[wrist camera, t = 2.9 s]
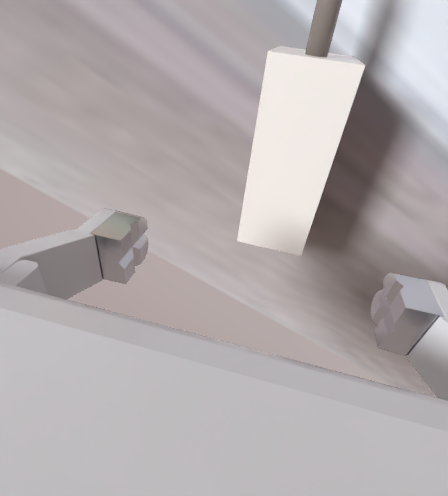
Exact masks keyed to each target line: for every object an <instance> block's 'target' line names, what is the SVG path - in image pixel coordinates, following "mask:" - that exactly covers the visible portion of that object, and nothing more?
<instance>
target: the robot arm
mask: <svg viewBox="0 0 448 496" xmlns="http://www.w3.org/2000/svg"><path fill="white" fill-rule="evenodd" d="M146 230H147V220H146V219H145V218H144V217H140V216H136V215H132V214H128V213H124V212H120V211H116V210H111V209H106V208H104V209H101V210H100V211H98V212H97V213H96V214H95V215H94V216H92V217H91V218H90V219H89V220H88V221H86V222H85V223H84V224H83V225H82V226H80V227H79V228H78V229H77V230H68V231H64V232H60V233H57V234H53V235H49V236H46V237H42V238H38V239H35V240H31V241H28V242H24V243H20V244H16V245H13V246H9V247H5V248H2V249H0V496H448V290H447V288H446V286H445V285H444V284H442V283H441V282H436V281H430V280H425V279H419V278H414V277H409V276H404V275H399V274H395V273H388V274H387V275H386V276H385V278H384V280H383V281H382V283H383V286H384V288H383V289H381V290H379V291H377V292H376V294H375V296H374V297H373V299H372V304H371V318H372V320H373V321H374V323H375V324H376V325H377V327H376V329H375V330H374V332H375V336H376V341H377V345H378V348H380V349H384V350H388V351H391V352H395V353H398V354H402V355H405V356H407V358H408V360H409V361H410V362H411V363H412V365H413V366H414V367H415V369H416V370H417V371H418V372H419V374H420V375H421V376H422V378H423V379H424V380H425V381H426V383H427V384H428V385H429V387H430V388H431V389H432V390H433V392H434V393H435V394H436V396H437V397H438V398H435V397H432V396H428V395H424V394H420V393H416V392H413V391H409V390H405V389H401V388H397V387H393V386H390V385H386V384H382V383H378V382H374V381H371V380H367V379H363V378H360V377H356V376H352V375H349V374H345V373H341V372H337V371H333V370H330V369H326V368H322V367H318V366H315V365H311V364H308V363H304V362H300V361H296V360H292V359H289V358H285V357H281V356H278V355H274V354H270V353H266V352H263V351H259V350H255V349H251V348H247V347H244V346H240V345H236V344H232V343H229V342H224V341H221V340H217V339H213V338H210V337H206V336H202V335H198V334H195V333H190V332H187V331H183V330H180V329H175V328H172V327H168V326H164V325H160V324H157V323H153V322H149V321H145V320H142V319H138V318H134V317H131V316H127V315H123V314H119V313H116V312H112V311H108V310H104V309H101V308H97V307H93V306H89V305H86V304H81V303H78V302H74V301H70V300H67V299H68V298H70V297H72V296H74V295H76V294H77V293H79V292H81V291H83V290H85V289H87V288H89V287H91V286H92V285H94V284H96V283H98V282H100V281H102V279H105V280H110V281H115V282H119V283H123V284H126V283H127V282H128V281H129V279H130V278H131V276H132V275H133V274H134V273H135V266H137V265H139V264H141V263H142V262H143V260H144V259H145V256H146V254H147V251H148V238H147V237H146V235H145V234H144V232H145V231H146Z"/></svg>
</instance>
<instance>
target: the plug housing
mask: <svg viewBox="0 0 448 496" xmlns="http://www.w3.org/2000/svg"><path fill="white" fill-rule="evenodd" d="M341 3H342V0H317V3H316V7H315V11H314V16H313V20H312V25H311V29H310V34H309V38H308V42H307V47H306V50H305V49H298V48H291V47H284V46H279V47H276V48H274V49H272V50H269V51H268V54H267V61H266V67H265V73H264V79H263V85H262V91H261V97H260V103H259V110H258V116H257V122H256V128H255V134H254V140H253V146H252V153H251V159H250V165H249V171H248V177H247V183H246V189H245V195H244V202H243V208H242V214H241V220H240V226H239V232H238V238H237V241H239V242H243V243H248V244H252V245H256V246H260V247H265V248H269V249H273V250H277V251H281V252H286V253H290V254H294V255H298V256H301V255H302V252H303V249H304V246H305V243H306V240H307V237H308V234H309V231H310V228H311V225H312V222H313V219H314V216H315V213H316V210H317V207H318V204H319V201H320V198H321V195H322V192H323V189H324V186H325V183H326V181H327V178H328V175H329V172H330V169H331V166H332V163H333V160H334V157H335V154H336V151H337V148H338V145H339V142H340V139H341V136H342V133H343V130H344V127H345V124H346V121H347V118H348V115H349V112H350V109H351V106H352V103H353V101H354V98H355V95H356V92H357V89H358V86H359V83H360V80H361V77H362V74H363V71H364V68H365V65H364V64H363V63H362V62H361V61H359V60H358V59H357V58H355V57H354V56H348V55H341V54H334V53H328V52H329V48H330V44H331V41H332V37H333V33H334V29H335V26H336V22H337V18H338V14H339V11H340V7H341Z"/></svg>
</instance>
